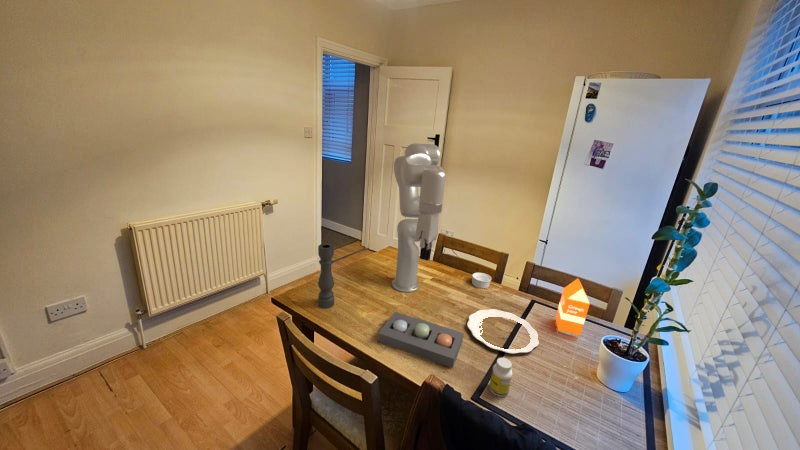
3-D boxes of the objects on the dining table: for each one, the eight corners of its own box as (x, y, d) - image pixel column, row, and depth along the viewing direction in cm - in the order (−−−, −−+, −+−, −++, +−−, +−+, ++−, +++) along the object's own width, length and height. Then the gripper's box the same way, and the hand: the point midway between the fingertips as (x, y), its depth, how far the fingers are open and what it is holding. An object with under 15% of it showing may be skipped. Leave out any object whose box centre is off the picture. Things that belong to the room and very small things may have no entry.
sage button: (417, 328, 110) (418, 321, 109) (430, 333, 108) (431, 325, 107) (412, 336, 106) (413, 329, 105) (425, 341, 104) (426, 333, 103)
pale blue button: (396, 325, 113) (396, 318, 112) (408, 329, 112) (409, 322, 111) (390, 332, 109) (391, 325, 108) (403, 337, 107) (404, 329, 106)
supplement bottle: (486, 382, 93) (491, 355, 90) (503, 382, 93) (509, 355, 90) (492, 397, 88) (498, 369, 85) (511, 397, 88) (518, 369, 85)
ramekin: (475, 278, 155) (476, 270, 154) (492, 284, 151) (494, 276, 149) (467, 285, 149) (469, 276, 147) (485, 291, 144) (487, 283, 142)
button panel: (394, 319, 119) (395, 311, 118) (462, 341, 110) (463, 332, 108) (377, 341, 106) (378, 333, 105) (452, 368, 97) (454, 359, 96)
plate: (535, 322, 124) (536, 318, 123) (540, 366, 101) (541, 361, 101) (471, 307, 131) (471, 303, 130) (462, 344, 108) (463, 340, 108)
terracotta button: (438, 339, 108) (439, 331, 107) (452, 343, 106) (453, 336, 105) (434, 347, 103) (435, 340, 102) (448, 352, 102) (450, 345, 101)
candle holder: (330, 310, 121) (330, 250, 113) (315, 307, 122) (314, 248, 114) (336, 301, 127) (337, 244, 119) (322, 299, 128) (321, 242, 120)
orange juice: (556, 332, 118) (569, 285, 112) (554, 319, 126) (566, 275, 120) (579, 338, 116) (594, 290, 110) (576, 324, 124) (589, 279, 118)
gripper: (426, 200, 110) (421, 249, 116) (411, 210, 97) (406, 264, 102) (447, 204, 107) (441, 253, 113) (434, 215, 94) (428, 270, 100)
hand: (424, 258), depth 108 cm, fingers closed
